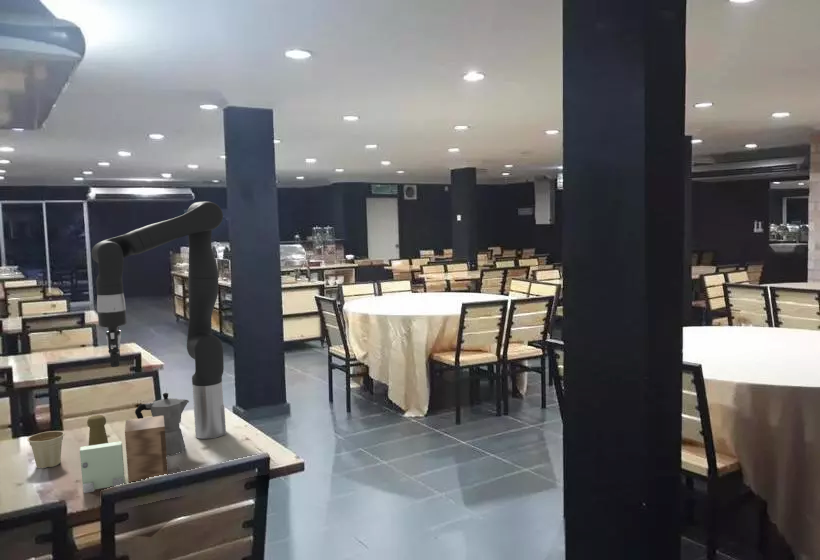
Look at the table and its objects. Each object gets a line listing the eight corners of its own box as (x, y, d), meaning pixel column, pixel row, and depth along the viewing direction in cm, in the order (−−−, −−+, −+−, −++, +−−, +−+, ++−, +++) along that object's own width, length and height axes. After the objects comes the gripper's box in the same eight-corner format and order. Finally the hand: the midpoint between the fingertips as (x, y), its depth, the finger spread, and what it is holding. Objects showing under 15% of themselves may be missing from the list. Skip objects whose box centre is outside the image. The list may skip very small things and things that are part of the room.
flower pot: (39, 459, 198) (37, 431, 197) (72, 457, 199) (69, 429, 198) (23, 471, 189) (21, 442, 188) (58, 469, 190) (55, 440, 189)
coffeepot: (189, 442, 209) (186, 386, 208) (194, 451, 201) (190, 393, 199) (137, 451, 203) (132, 393, 201) (139, 461, 194) (135, 401, 192)
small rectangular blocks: (123, 478, 182) (123, 470, 181) (123, 486, 176) (122, 477, 176) (85, 484, 178) (84, 476, 178) (83, 493, 173) (83, 484, 172)
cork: (101, 454, 201) (98, 419, 199) (83, 454, 202) (80, 418, 201) (114, 447, 206) (111, 413, 205) (96, 447, 208) (94, 412, 207)
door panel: (124, 480, 180) (121, 441, 179) (124, 485, 177) (121, 445, 176) (84, 487, 177) (80, 447, 176) (82, 492, 173) (79, 451, 172)
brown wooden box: (166, 462, 193) (163, 415, 191) (168, 475, 182) (164, 426, 181) (129, 468, 189) (125, 420, 187) (128, 482, 179) (124, 431, 177)
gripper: (124, 311, 190) (129, 367, 191) (126, 305, 203) (130, 357, 204) (95, 313, 187) (100, 370, 188) (99, 307, 200) (103, 360, 202)
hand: (115, 363), depth 196 cm, fingers open, 8 cm apart
